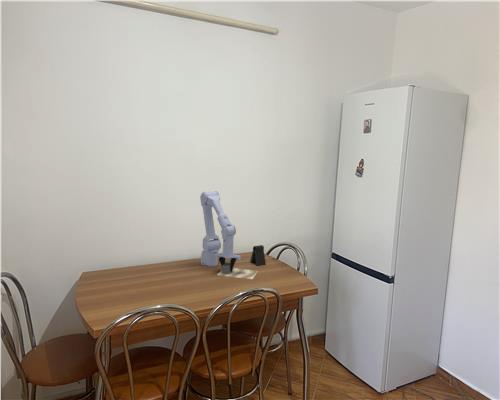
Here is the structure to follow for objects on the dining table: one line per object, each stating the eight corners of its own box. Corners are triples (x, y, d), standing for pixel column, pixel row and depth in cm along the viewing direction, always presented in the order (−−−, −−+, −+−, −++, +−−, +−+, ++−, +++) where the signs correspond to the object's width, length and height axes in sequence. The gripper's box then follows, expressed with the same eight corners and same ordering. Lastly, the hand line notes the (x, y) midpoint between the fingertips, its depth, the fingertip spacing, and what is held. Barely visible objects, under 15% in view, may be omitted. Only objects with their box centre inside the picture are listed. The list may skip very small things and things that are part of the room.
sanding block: (221, 273, 200) (222, 265, 199) (226, 269, 208) (226, 261, 207) (228, 274, 199) (229, 266, 199) (232, 269, 207) (233, 262, 206)
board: (216, 276, 198) (216, 275, 198) (224, 268, 211) (224, 267, 211) (252, 281, 193) (252, 279, 193) (258, 272, 207) (258, 270, 207)
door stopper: (266, 266, 218) (266, 247, 216) (257, 268, 215) (258, 248, 213) (257, 262, 225) (258, 243, 224) (249, 263, 222) (250, 244, 220)
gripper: (213, 247, 199) (212, 271, 201) (238, 250, 196) (238, 274, 198) (217, 244, 206) (216, 267, 208) (242, 246, 203) (241, 270, 205)
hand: (227, 270), depth 203 cm, fingers closed on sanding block, 4 cm apart
